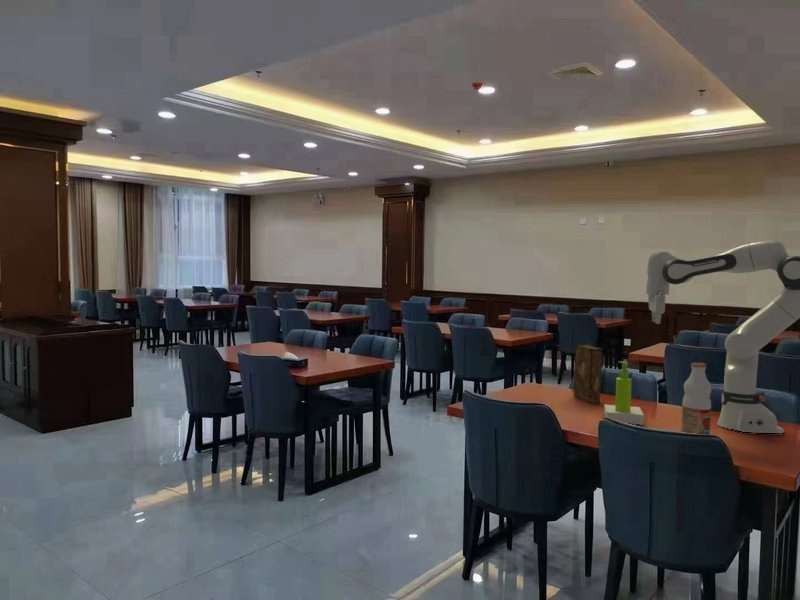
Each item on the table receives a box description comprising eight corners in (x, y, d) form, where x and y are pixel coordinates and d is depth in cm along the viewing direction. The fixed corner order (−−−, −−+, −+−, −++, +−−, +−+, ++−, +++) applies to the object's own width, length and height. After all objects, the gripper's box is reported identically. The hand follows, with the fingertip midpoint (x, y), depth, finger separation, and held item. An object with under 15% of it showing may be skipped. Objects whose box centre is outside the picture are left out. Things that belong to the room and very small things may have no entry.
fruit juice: (680, 434, 224) (683, 360, 222) (708, 437, 220) (712, 362, 218) (681, 440, 215) (685, 364, 213) (710, 444, 211) (714, 366, 210)
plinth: (639, 416, 249) (639, 407, 248) (643, 425, 235) (643, 415, 235) (603, 413, 252) (604, 404, 252) (606, 421, 239) (606, 412, 239)
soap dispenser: (625, 408, 246) (627, 360, 245) (632, 412, 239) (634, 363, 238) (611, 408, 246) (613, 360, 245) (618, 412, 239) (620, 363, 238)
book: (601, 403, 272) (603, 349, 270) (590, 403, 271) (592, 349, 269) (584, 395, 288) (586, 344, 286) (573, 395, 287) (575, 344, 285)
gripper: (669, 291, 241) (668, 325, 242) (662, 289, 260) (660, 320, 261) (653, 290, 242) (651, 324, 243) (646, 289, 262) (645, 320, 263)
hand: (656, 322), depth 252 cm, fingers open, 8 cm apart
